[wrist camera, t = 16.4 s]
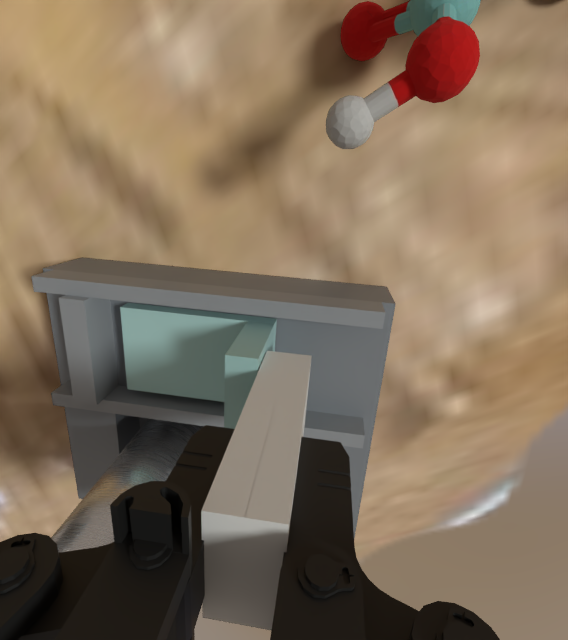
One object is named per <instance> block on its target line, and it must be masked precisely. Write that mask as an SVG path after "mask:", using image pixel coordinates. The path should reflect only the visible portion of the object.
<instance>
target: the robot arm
mask: <svg viewBox="0 0 568 640" xmlns="http://www.w3.org/2000/svg"><path fill="white" fill-rule="evenodd" d="M311 357H312V356H310V355H301V354H292V353H284V352H275V351H266V354H265V356H264V359H263V361H262V364H261V366H260V369H259V371H258V373H257V376H256V378H255V381H254V383H253V386H252V388H251V391H250V393H249V395H248V398H247V400H246V403H245V405H244V408H243V410H242V413H241V415H240V417H239V420H238V422H237V425H236V427H235V429H231V428H224V427H217V426H209V425H205V426H204V427H203V428H201V429H200V430H199V431H198V432H196V433H195V434H194V435H192V436H191V438H190V439H189V441H188V443H187V445H186V446H185V448H184V450H183V453H182V454H181V455H180V457H179V459H178V461H177V462H176V466H174V468H173V469H172V471H171V473H170V475H169V476H168V478H167V480H166V481H150V482H146V483H142V484H139V485H135V486H134V487H132V488H130V489H128V490H127V491H125V492H123V493H121V494H120V495H119V496H118V497H117V498H116V499H115V500H114V502H113V503H112V504H111V505H110V510H111V518H112V526H113V534H114V542H112V543H110V544H107V545H103V546H99V547H95V548H88V549H81V550H74V551H67V552H60V553H59V552H58V547H57V543H56V542H54V541H53V540H52V539H51V538H50V537H49V536H47V535H42V534H38V533H31V534H24V535H17V536H15V537H12V538H10V539H7V540H5V541H2V542H0V640H194V628H195V625H196V621H197V618H198V615H199V612H200V609H201V605H202V602H203V618H208V619H213V620H219V621H224V622H229V623H235V624H240V625H246V626H251V627H256V628H261V629H267V630H272V632H271V638H270V640H500V639H499V638H498V636H497V635H496V634H495V632H494V631H493V630H492V628H491V627H490V626H489V625H488V624H486V623H485V622H484V621H483V620H482V619H481V618H479V617H478V616H477V615H476V614H475V613H473V612H472V611H470V610H467V609H466V608H464V607H462V606H459V605H457V604H455V603H449V602H441V601H437V602H434V603H431V604H428V605H425V606H423V608H422V609H421V610H420V611H417V610H416V609H413V608H412V607H410V606H408V605H406V604H404V603H402V602H400V601H398V600H396V599H394V598H392V597H390V596H389V595H387V594H386V593H384V592H383V591H381V590H380V589H378V588H377V587H376V586H375V585H374V584H373V583H372V582H371V581H370V580H369V579H368V578H367V576H366V575H365V573H364V572H363V571H362V569H361V567H360V565H359V563H358V560H357V558H356V553H355V548H354V532H353V513H352V495H351V477H350V459H349V456H348V454H347V452H346V451H345V449H344V447H343V446H342V444H341V442H337V441H329V440H322V439H315V438H307V437H303V434H304V426H305V416H306V406H307V396H308V386H309V377H310V367H311Z"/></svg>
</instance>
